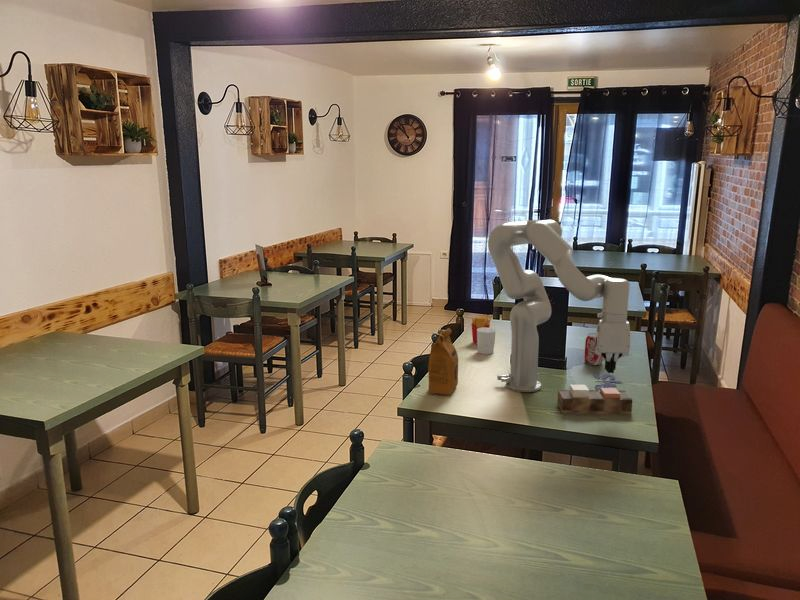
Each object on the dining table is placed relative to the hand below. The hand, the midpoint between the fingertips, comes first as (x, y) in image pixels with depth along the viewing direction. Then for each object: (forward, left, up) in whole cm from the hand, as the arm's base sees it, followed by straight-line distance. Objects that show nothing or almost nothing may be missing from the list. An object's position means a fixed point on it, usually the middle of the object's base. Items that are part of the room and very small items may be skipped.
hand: (609, 371), depth 197 cm
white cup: (-34, +61, -13) cm, 71 cm away
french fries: (-35, +75, -13) cm, 84 cm away
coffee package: (-53, +15, -13) cm, 57 cm away
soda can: (+8, +47, -13) cm, 49 cm away
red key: (+1, 0, -10) cm, 10 cm away
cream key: (-9, 0, -9) cm, 13 cm away
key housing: (-4, 0, -13) cm, 14 cm away
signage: (+6, +20, -14) cm, 25 cm away
